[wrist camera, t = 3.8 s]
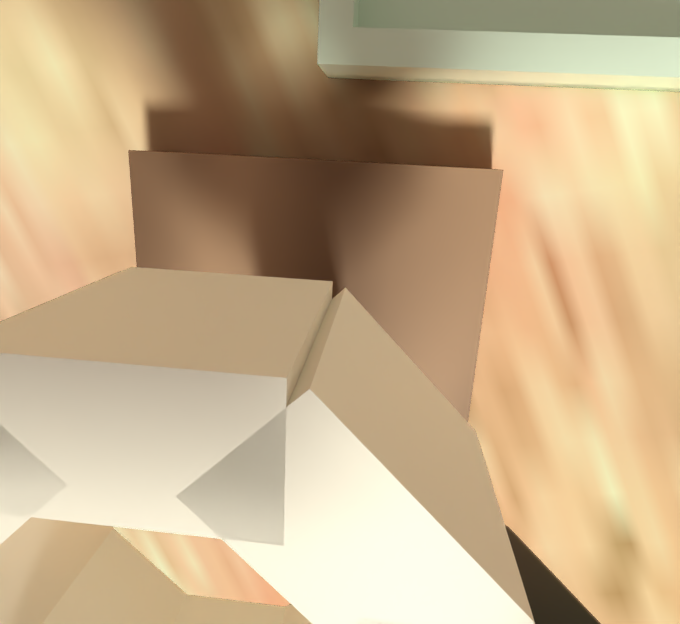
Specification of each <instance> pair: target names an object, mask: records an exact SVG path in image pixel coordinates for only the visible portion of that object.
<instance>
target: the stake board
mask: <svg viewBox="0 0 680 624" xmlns="http://www.w3.org/2000/svg"><path fill="white" fill-rule="evenodd" d="M128 151H129V165H130V179H131V193H132V206H133V220H134V234H135V248H136V262H137V267H140V268H154V269H168V270H182V271H196V272H210V273H224V274H238V275H252V276H266V277H280V278H294V279H308V280H322V281H333V286H332V299H333V298H334V297H335V296H336V295H337V294H339V293H340V292H341V291H342V290H343V289H344V288H346V289H347V290H348V291H349V292H350V293H351V294H352V295H353V296H354V297H355V298H356V300H357V301H358V302H359V303H360V304H361V305H362V306H363V307H364V308H365V309H366V311H367V312H368V313H369V314H370V315H371V316H372V317H373V318H374V319H375V321H376V322H377V323H378V324H379V325H380V326H381V327H382V328H383V329H384V330H385V332H386V333H387V334H388V335H389V336H390V337H391V338H392V339H393V340H394V341H395V343H396V344H397V345H398V346H399V347H400V348H401V349H402V350H403V351H404V353H405V354H406V355H407V356H408V357H409V358H410V359H411V360H412V361H413V362H414V364H415V365H416V366H417V367H418V368H419V369H420V370H421V371H422V372H423V373H424V375H425V376H426V377H427V378H428V379H429V380H430V381H431V382H432V383H433V385H434V386H435V387H436V388H437V389H438V390H439V391H440V392H441V393H442V394H443V396H444V397H445V398H446V399H447V400H448V401H449V402H450V403H451V404H452V405H453V407H454V408H455V409H456V410H457V411H458V412H459V413H460V414H461V415H462V417H463V418H464V419H465V420H466V421H467V422H468V418H469V411H470V403H471V396H472V389H473V382H474V375H475V368H476V361H477V354H478V347H479V339H480V332H481V325H482V318H483V311H484V304H485V297H486V290H487V283H488V275H489V268H490V261H491V254H492V247H493V240H494V233H495V226H496V219H497V212H498V204H499V197H500V190H501V183H502V176H503V170H498V169H485V168H466V167H447V166H428V165H409V164H390V163H371V162H352V161H333V160H314V159H295V158H276V157H257V156H238V155H219V154H200V153H181V152H162V151H135V150H128Z"/></svg>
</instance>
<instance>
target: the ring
mask: <svg viewBox="0 0 680 624" xmlns="http://www.w3.org/2000/svg"><path fill="white" fill-rule="evenodd" d="M332 286H333V281H322V280H308V279H294V278H280V277H266V276H252V275H238V274H224V273H210V272H196V271H182V270H168V269H154V268H140V267H131V268H129V269H126V270H124V271H122V272H121V271H120V272H117V273H115V274H113V275H110V276H108V277H105V278H103V279H101V280H98V281H96V282H94V283H91V284H89V285H86V286H84V287H82V288H79V289H77V290H74V291H72V292H70V293H67V294H65V295H63V296H60V297H58V298H55V299H53V300H51V301H48V302H46V303H43V304H41V305H39V306H36V307H34V308H31V309H29V310H27V311H24V312H22V313H20V314H17V315H15V316H12V317H10V318H8V319H5V320H3V321H0V624H535V621H534V618H533V615H532V612H531V608H530V605H529V602H528V599H527V595H526V592H525V589H524V586H523V582H522V579H521V576H520V573H519V569H518V566H517V563H516V560H515V556H514V553H513V550H512V547H511V543H510V540H509V537H508V534H507V531H506V527H505V524H504V521H503V518H502V514H501V511H500V508H499V505H498V501H497V498H496V495H495V492H494V488H493V485H492V482H491V479H490V475H489V472H488V469H487V466H486V462H485V459H484V456H483V453H482V449H481V446H480V443H479V440H478V437H477V433H476V431H475V430H474V429H473V428H472V426H471V425H470V424H469V423H468V422H467V421H466V420H465V419H464V418H463V417H462V415H461V414H460V413H459V412H458V411H457V410H456V409H455V408H454V407H453V405H452V404H451V403H450V402H449V401H448V400H447V399H446V398H445V397H444V396H443V394H442V393H441V392H440V391H439V390H438V389H437V388H436V387H435V386H434V385H433V383H432V382H431V381H430V380H429V379H428V378H427V377H426V376H425V375H424V373H423V372H422V371H421V370H420V369H419V368H418V367H417V366H416V365H415V364H414V362H413V361H412V360H411V359H410V358H409V357H408V356H407V355H406V354H405V353H404V351H403V350H402V349H401V348H400V347H399V346H398V345H397V344H396V343H395V341H394V340H393V339H392V338H391V337H390V336H389V335H388V334H387V333H386V332H385V330H384V329H383V328H382V327H381V326H380V325H379V324H378V323H377V322H376V321H375V319H374V318H373V317H372V316H371V315H370V314H369V313H368V312H367V311H366V309H365V308H364V307H363V306H362V305H361V304H360V303H359V302H358V301H357V300H356V298H355V297H354V296H353V295H352V294H351V293H350V292H349V291H348V290H347V289H346V288H344V289H343V290H342V291H341V292H340V293H339V294H337V295H336V296H335V297H334V298H333V299H332ZM113 527H122V528H131V529H140V530H148V531H157V532H166V533H175V534H183V535H192V536H201V537H210V538H218V539H222V540H223V541H224V542H225V543H226V544H227V545H228V546H230V547H231V548H232V549H233V550H234V551H235V552H236V553H237V554H238V555H239V556H240V557H241V558H242V559H243V560H245V561H246V562H247V563H248V564H249V565H250V566H251V567H252V568H253V569H254V570H255V571H256V572H257V573H258V574H260V575H261V576H262V577H263V578H264V579H265V580H266V581H267V582H268V583H269V584H270V585H271V586H272V587H273V588H275V589H276V590H277V591H278V592H279V593H280V594H281V595H282V596H283V597H284V598H285V599H286V600H287V601H288V602H290V603H291V604H289V605H288V606H286V607H284V606H276V605H268V604H260V603H252V602H244V601H236V600H228V599H220V598H211V597H203V596H195V595H187V594H186V593H185V592H184V591H183V590H182V589H181V588H179V587H178V586H177V585H176V584H175V583H174V582H173V581H172V580H170V579H169V578H168V577H167V576H166V575H165V574H164V573H163V572H162V571H160V570H159V569H158V568H157V567H156V566H155V565H154V564H153V563H151V562H150V561H149V560H148V559H147V558H146V557H145V556H144V555H143V554H141V553H140V552H139V551H138V550H137V549H136V548H135V547H134V546H132V545H131V544H130V543H129V542H128V541H127V540H126V539H125V538H124V537H122V536H121V535H120V534H119V533H118V532H117V531H116V530H115V529H113Z"/></svg>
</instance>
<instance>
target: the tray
mask: <svg viewBox="0 0 680 624" xmlns="http://www.w3.org/2000/svg"><path fill="white" fill-rule="evenodd" d="M317 64H318V65H319V67H320V68H321V69H322V71H323V72H324V73H325V74H326V76H327V77H328V78H343V79H368V80H393V81H418V82H444V83H469V84H494V85H519V86H544V87H569V88H594V89H619V90H644V91H669V92H680V0H319V27H318V58H317Z"/></svg>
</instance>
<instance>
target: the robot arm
mask: <svg viewBox="0 0 680 624" xmlns="http://www.w3.org/2000/svg"><path fill="white" fill-rule="evenodd" d="M505 527H506V531H507V534H508V537H509V540H510V543H511V547H512V550H513V553H514V556H515V560H516V563H517V566H518V569H519V573H520V576H521V579H522V582H523V586H524V589H525V592H526V595H527V599H528V602H529V605H530V608H531V612H532V615H533V618H534V621H535V624H601V623H600V622H599V621H598V620H597V619H596V618H595V617H594V616H593V615H592V614H591V613H590V612H589V611H588V610H587V609H586V608H585V607H584V606H583V604H582V603H581V602H580V601H579V600H578V599H577V598H576V597H575V596H574V595H573V594H572V593H571V592H570V591H569V590H568V589H567V588H566V587H565V586H564V585H563V583H562V582H561V581H560V580H559V579H558V578H557V577H556V576H555V575H554V574H553V573H552V572H551V571H550V570H549V569H548V568H547V567H546V566H545V565H544V563H543V562H542V561H541V560H540V559H539V558H538V557H537V556H536V555H535V554H534V553H533V552H532V551H531V550H530V549H529V548H528V547H527V546H526V545H525V544H524V542H523V541H522V540H521V539H520V538H519V537H518V536H517V535H516V534H515V533H514V532H513V531H512V530H511V529H510V528H509V527H508V526H506V525H505Z"/></svg>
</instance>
